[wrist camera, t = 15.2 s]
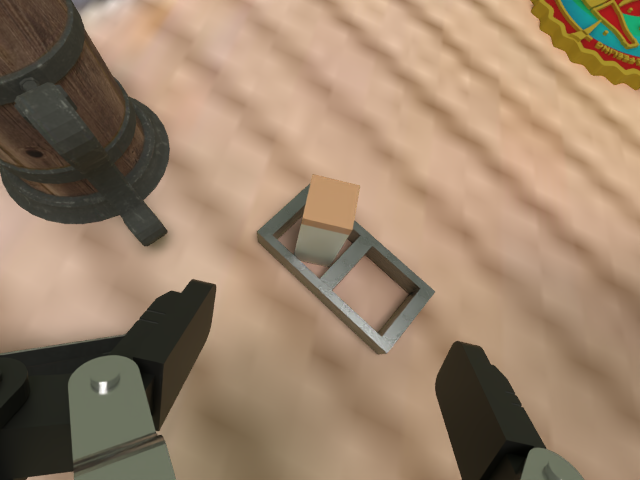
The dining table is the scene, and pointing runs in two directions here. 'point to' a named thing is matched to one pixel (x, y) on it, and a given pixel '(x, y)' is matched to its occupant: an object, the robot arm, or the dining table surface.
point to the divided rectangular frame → (340, 269)
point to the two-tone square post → (326, 220)
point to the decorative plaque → (596, 35)
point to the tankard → (73, 125)
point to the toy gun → (63, 355)
